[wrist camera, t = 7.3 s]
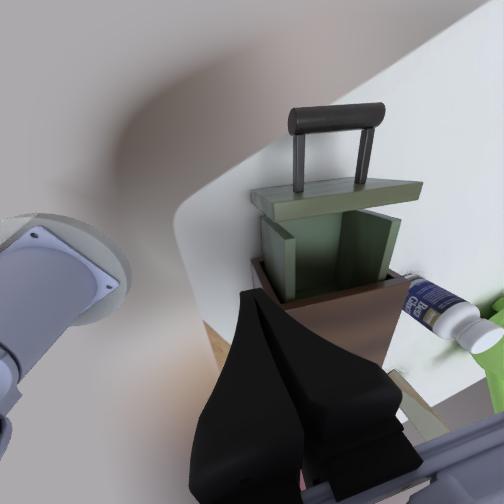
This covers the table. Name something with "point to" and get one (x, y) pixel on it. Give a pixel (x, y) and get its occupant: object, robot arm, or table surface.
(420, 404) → the box
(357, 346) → the cabinet
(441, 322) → the pill bottle
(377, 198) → the drawer
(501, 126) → the table surface
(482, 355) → the teapot
